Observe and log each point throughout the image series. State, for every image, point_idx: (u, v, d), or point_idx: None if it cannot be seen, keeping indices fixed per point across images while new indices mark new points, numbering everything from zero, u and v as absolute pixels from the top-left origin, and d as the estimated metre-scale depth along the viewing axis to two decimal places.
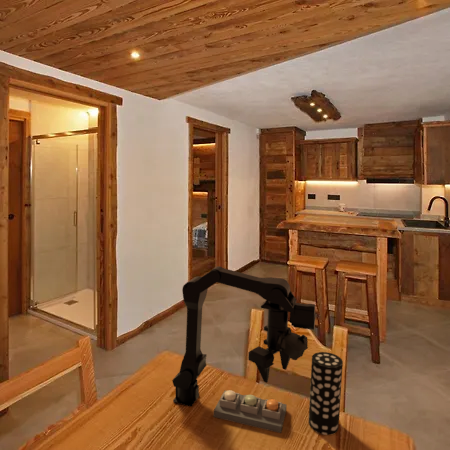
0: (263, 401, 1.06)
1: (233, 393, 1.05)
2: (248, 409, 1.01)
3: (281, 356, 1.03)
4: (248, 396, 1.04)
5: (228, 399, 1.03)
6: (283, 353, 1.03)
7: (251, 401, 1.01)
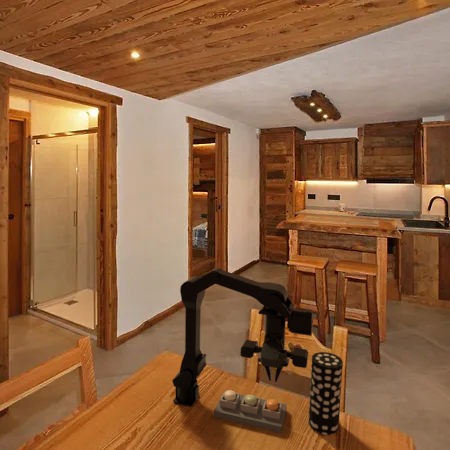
0: (263, 401, 1.06)
1: (233, 393, 1.05)
2: (248, 409, 1.01)
3: None
4: (248, 396, 1.04)
5: (228, 399, 1.03)
6: None
7: (251, 401, 1.01)
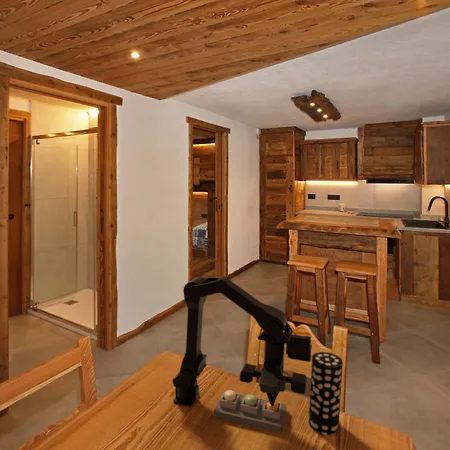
0: (263, 401, 1.06)
1: (233, 393, 1.05)
2: (248, 409, 1.01)
3: None
4: (248, 396, 1.04)
5: (228, 399, 1.03)
6: None
7: (251, 401, 1.01)
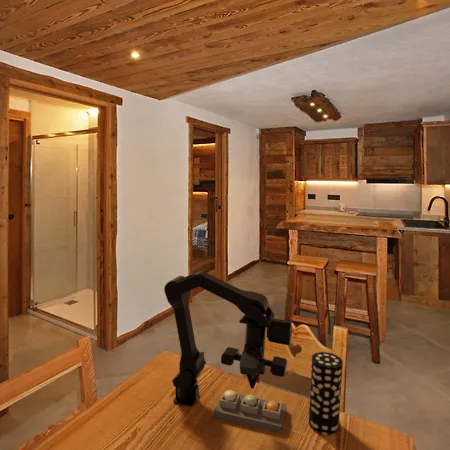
0: (263, 401, 1.06)
1: (233, 393, 1.05)
2: (248, 409, 1.01)
3: None
4: (248, 396, 1.04)
5: (228, 399, 1.03)
6: None
7: (251, 401, 1.01)
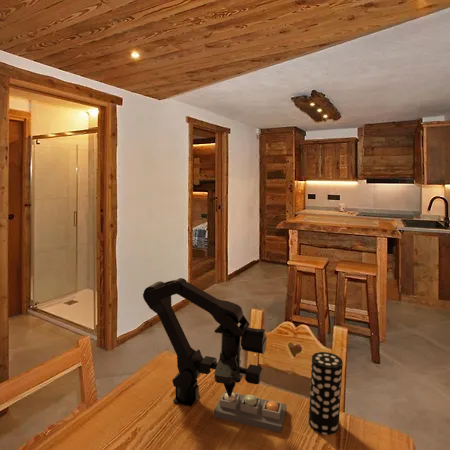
0: (263, 401, 1.06)
1: (233, 395, 1.05)
2: (248, 409, 1.01)
3: None
4: (248, 396, 1.04)
5: None
6: None
7: (251, 401, 1.01)
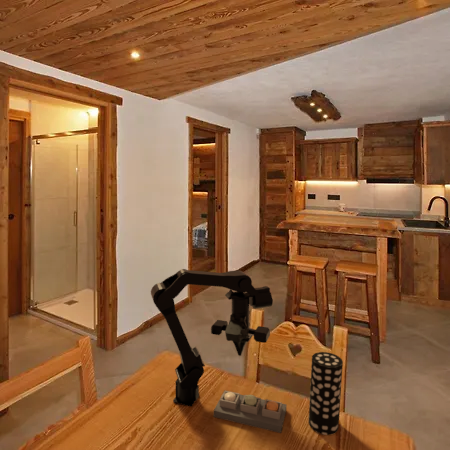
0: (263, 401, 1.06)
1: (233, 395, 1.05)
2: (248, 409, 1.01)
3: None
4: (248, 396, 1.04)
5: None
6: None
7: (251, 401, 1.01)
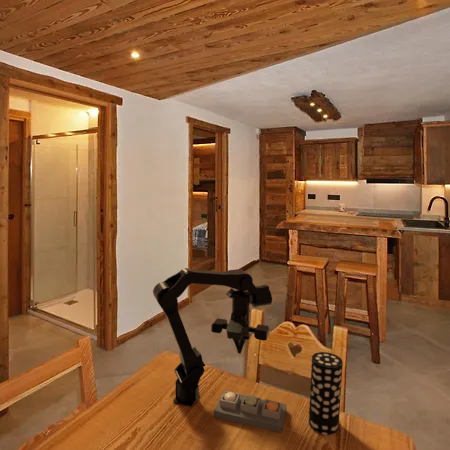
0: (263, 401, 1.06)
1: (233, 395, 1.05)
2: (248, 409, 1.01)
3: None
4: (248, 396, 1.04)
5: None
6: None
7: (251, 401, 1.01)
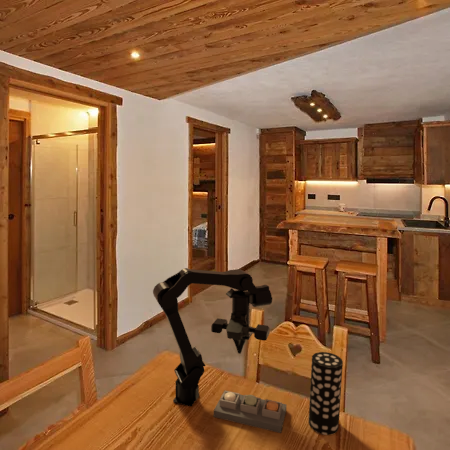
0: (263, 401, 1.06)
1: (233, 395, 1.05)
2: (248, 409, 1.01)
3: None
4: (248, 396, 1.04)
5: None
6: None
7: (251, 401, 1.01)
